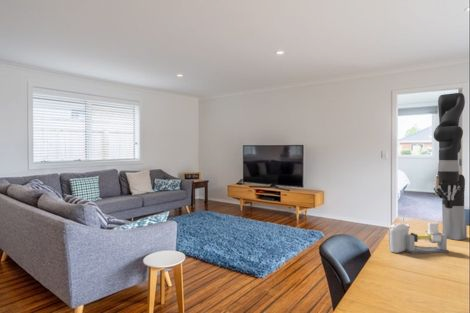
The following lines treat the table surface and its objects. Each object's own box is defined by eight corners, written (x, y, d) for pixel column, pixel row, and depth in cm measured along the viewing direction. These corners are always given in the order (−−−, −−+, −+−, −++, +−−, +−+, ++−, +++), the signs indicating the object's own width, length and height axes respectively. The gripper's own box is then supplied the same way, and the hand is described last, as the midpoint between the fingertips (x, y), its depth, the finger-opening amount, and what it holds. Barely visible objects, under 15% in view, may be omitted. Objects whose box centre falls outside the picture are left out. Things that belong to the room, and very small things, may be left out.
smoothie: (404, 247, 135) (404, 218, 135) (391, 244, 140) (391, 215, 140) (412, 245, 138) (412, 216, 138) (400, 241, 143) (399, 214, 143)
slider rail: (439, 248, 132) (439, 231, 132) (448, 252, 127) (448, 234, 127) (404, 250, 131) (404, 232, 131) (411, 253, 126) (411, 235, 126)
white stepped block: (433, 239, 132) (433, 221, 132) (441, 242, 127) (441, 224, 127) (425, 240, 132) (425, 222, 132) (432, 243, 127) (432, 224, 127)
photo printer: (399, 247, 135) (398, 221, 136) (409, 249, 132) (408, 222, 132) (388, 251, 130) (386, 224, 130) (397, 254, 126) (396, 225, 126)
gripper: (455, 169, 134) (455, 206, 134) (428, 170, 133) (428, 207, 133) (469, 170, 127) (469, 209, 127) (440, 170, 126) (441, 210, 126)
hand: (448, 208), depth 130 cm, fingers closed
